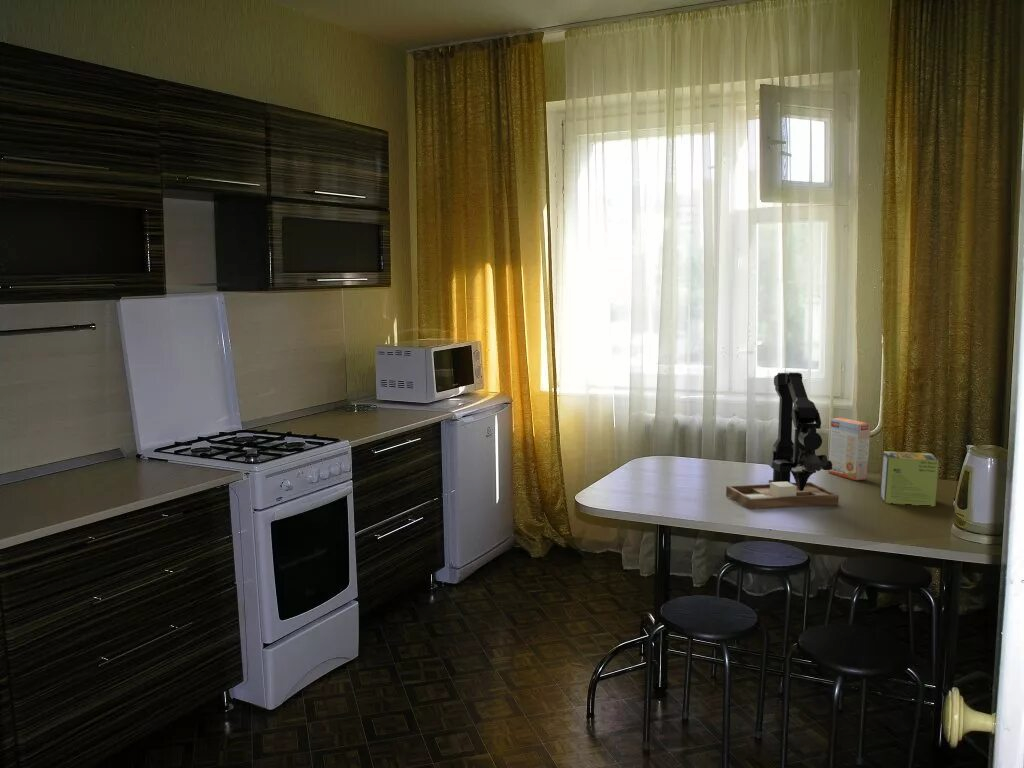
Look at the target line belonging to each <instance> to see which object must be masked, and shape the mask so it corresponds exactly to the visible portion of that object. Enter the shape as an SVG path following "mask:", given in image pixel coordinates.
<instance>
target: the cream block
mask: <svg viewBox="0 0 1024 768" xmlns="http://www.w3.org/2000/svg"><path fill="white" fill-rule="evenodd" d="M791 483H792V482H791ZM791 483H789V482H769V484H770V495H772V496H774V497H791V496H796V488H797V486H795V485H793V484H791Z"/></svg>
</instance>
